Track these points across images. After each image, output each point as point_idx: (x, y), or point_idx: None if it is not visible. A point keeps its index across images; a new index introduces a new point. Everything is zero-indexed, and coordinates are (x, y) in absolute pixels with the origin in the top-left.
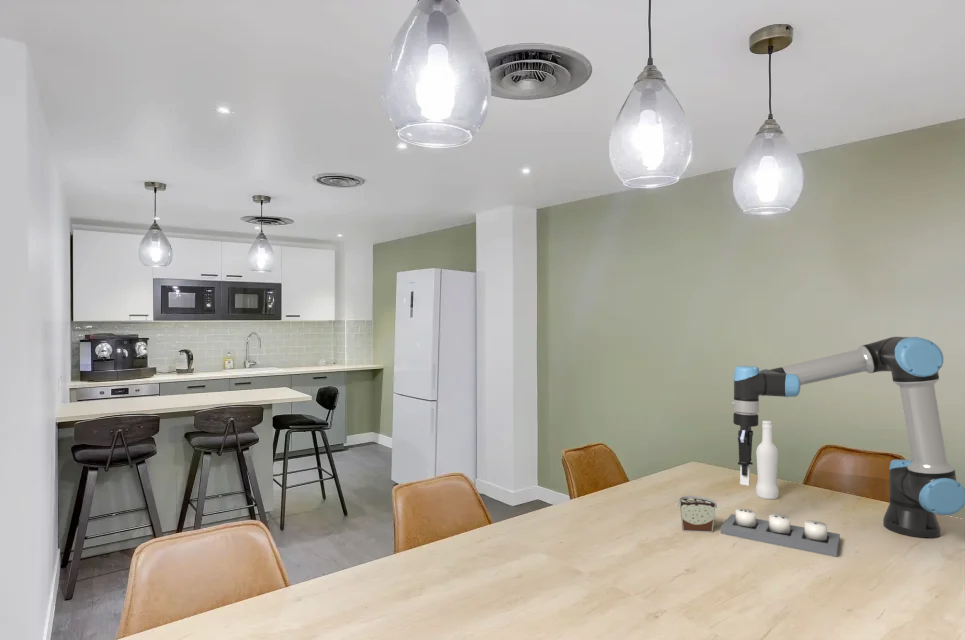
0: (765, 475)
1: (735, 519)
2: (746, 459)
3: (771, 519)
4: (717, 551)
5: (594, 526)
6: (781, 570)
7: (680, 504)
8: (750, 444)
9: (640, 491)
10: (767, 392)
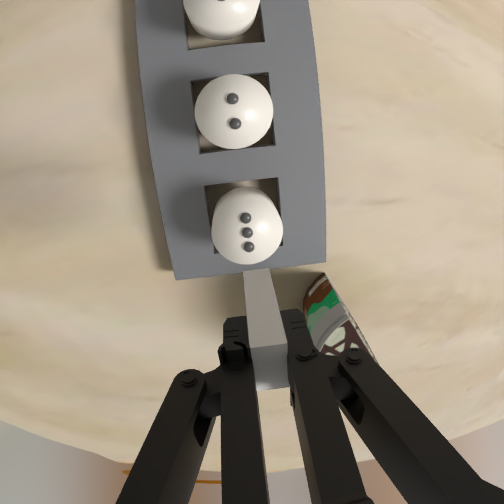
0: None
1: (220, 254)
2: (387, 380)
3: (264, 133)
4: (439, 220)
5: None
6: (462, 84)
7: None
8: (161, 501)
9: None
10: None
